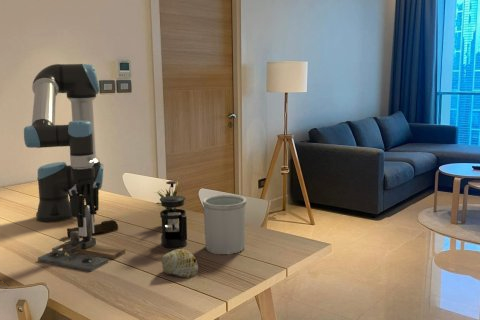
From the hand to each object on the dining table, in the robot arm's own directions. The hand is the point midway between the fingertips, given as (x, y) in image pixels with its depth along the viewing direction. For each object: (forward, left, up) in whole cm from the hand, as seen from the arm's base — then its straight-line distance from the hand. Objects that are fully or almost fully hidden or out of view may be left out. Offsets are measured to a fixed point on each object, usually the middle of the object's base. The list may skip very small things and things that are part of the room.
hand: (86, 234), depth 167 cm
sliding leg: (+4, 0, -4) cm, 6 cm away
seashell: (+4, +39, -6) cm, 40 cm away
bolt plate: (+10, +3, -6) cm, 12 cm away
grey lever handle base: (+4, +3, -6) cm, 8 cm away
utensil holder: (-21, +43, -6) cm, 48 cm away
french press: (-17, +25, -6) cm, 31 cm away
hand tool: (-16, -11, -7) cm, 21 cm away
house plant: (-35, +11, -6) cm, 37 cm away
